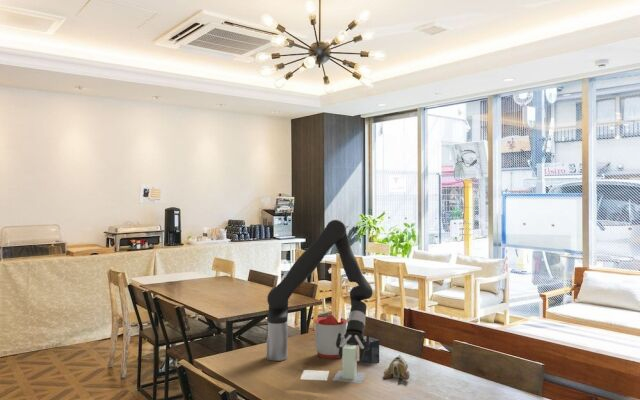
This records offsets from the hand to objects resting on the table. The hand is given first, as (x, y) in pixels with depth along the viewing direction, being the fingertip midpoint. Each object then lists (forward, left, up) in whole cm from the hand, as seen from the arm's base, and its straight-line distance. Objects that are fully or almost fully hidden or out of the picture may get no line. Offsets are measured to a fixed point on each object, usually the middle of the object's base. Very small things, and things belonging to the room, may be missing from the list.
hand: (350, 357), depth 205 cm
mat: (-15, -1, -9) cm, 17 cm away
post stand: (0, -1, -9) cm, 9 cm away
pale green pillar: (0, -1, -8) cm, 8 cm away
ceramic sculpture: (+20, +4, -9) cm, 22 cm away
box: (+8, +22, -9) cm, 25 cm away
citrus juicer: (-10, +29, -9) cm, 32 cm away
